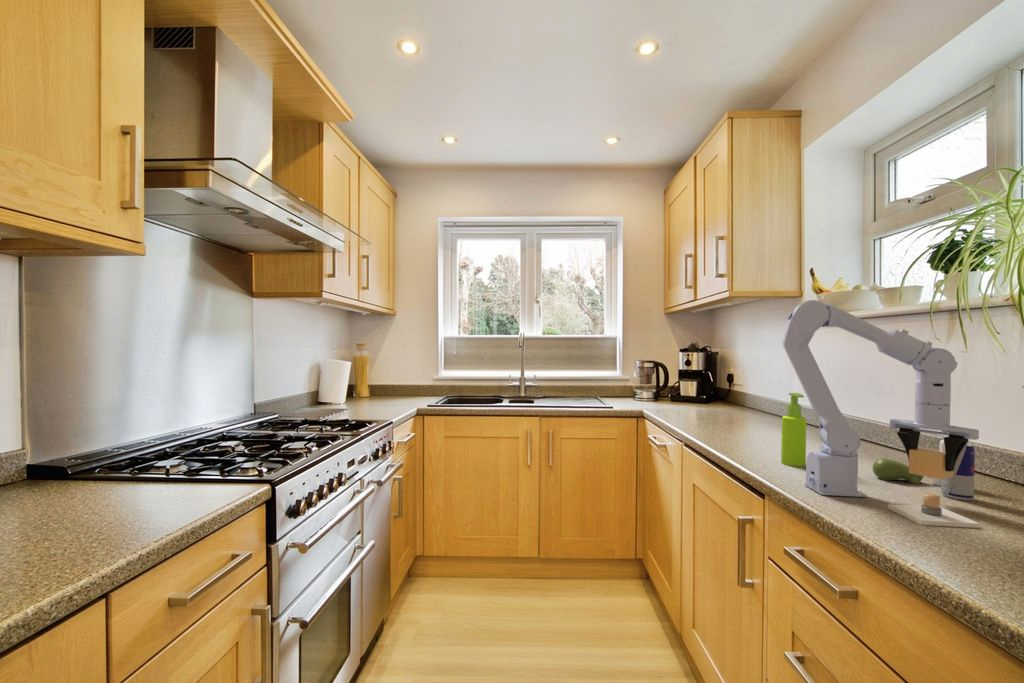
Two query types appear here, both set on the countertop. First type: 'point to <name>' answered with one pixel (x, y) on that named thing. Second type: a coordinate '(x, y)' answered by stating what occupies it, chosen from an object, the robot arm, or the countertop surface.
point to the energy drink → (961, 476)
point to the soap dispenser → (794, 434)
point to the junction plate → (933, 513)
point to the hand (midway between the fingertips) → (930, 467)
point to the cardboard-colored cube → (928, 463)
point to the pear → (894, 471)
